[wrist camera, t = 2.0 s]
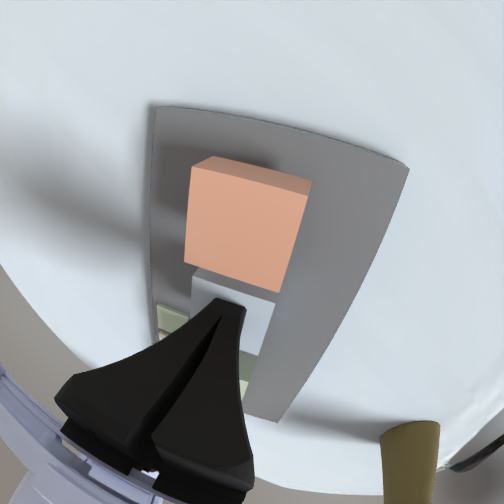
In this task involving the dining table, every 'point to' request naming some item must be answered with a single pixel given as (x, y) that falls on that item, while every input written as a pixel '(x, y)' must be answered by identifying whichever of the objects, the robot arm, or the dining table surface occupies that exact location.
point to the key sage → (245, 370)
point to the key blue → (240, 293)
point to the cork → (410, 462)
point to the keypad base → (305, 247)
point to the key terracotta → (243, 220)
